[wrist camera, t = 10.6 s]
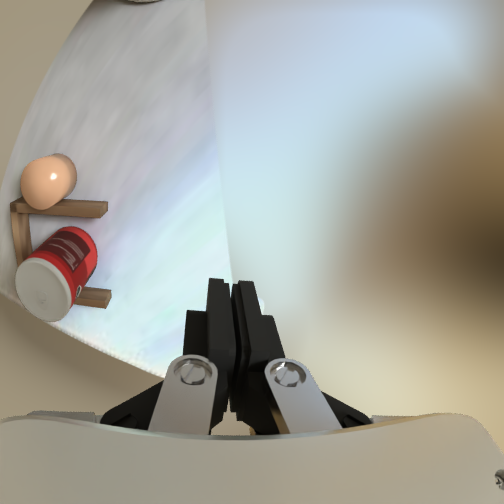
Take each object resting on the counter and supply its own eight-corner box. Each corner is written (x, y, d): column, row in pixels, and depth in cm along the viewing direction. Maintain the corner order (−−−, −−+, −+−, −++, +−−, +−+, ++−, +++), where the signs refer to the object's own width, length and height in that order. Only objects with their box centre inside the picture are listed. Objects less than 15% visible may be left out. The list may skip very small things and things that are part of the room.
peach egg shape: (39, 153, 32) (20, 159, 27) (77, 153, 33) (60, 159, 28) (40, 197, 34) (21, 208, 30) (77, 199, 35) (60, 211, 30)
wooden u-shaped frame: (21, 197, 33) (9, 203, 31) (107, 201, 36) (100, 208, 33) (32, 285, 39) (23, 295, 36) (111, 297, 41) (105, 308, 38)
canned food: (61, 279, 39) (29, 323, 29) (45, 228, 36) (4, 263, 26) (105, 275, 40) (79, 322, 30) (91, 220, 36) (55, 256, 26)
